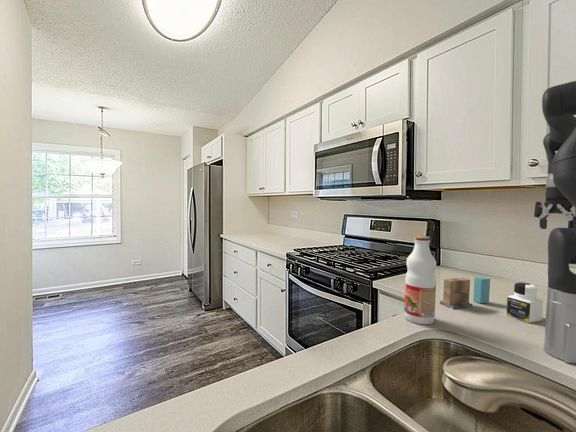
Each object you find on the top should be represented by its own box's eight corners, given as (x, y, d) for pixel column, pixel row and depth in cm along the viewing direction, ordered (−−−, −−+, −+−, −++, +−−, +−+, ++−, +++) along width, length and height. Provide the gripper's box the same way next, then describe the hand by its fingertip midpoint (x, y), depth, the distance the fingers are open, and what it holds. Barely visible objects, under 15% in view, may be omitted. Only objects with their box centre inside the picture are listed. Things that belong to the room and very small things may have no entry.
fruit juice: (435, 327, 91) (439, 239, 90) (403, 321, 95) (406, 237, 93) (433, 316, 100) (437, 236, 98) (404, 312, 103) (407, 234, 102)
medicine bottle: (505, 315, 102) (507, 282, 101) (519, 313, 104) (521, 280, 104) (528, 323, 95) (530, 287, 95) (542, 320, 98) (544, 285, 97)
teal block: (481, 299, 117) (483, 276, 117) (488, 302, 114) (490, 278, 114) (473, 300, 116) (474, 277, 115) (480, 303, 113) (481, 279, 113)
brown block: (458, 301, 116) (460, 276, 115) (472, 306, 110) (473, 280, 109) (439, 303, 113) (441, 278, 112) (452, 309, 107) (453, 282, 107)
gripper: (531, 186, 112) (528, 228, 112) (577, 184, 98) (573, 232, 99) (544, 187, 114) (542, 228, 114) (591, 185, 100) (588, 231, 101)
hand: (556, 230), depth 107 cm, fingers open, 8 cm apart
